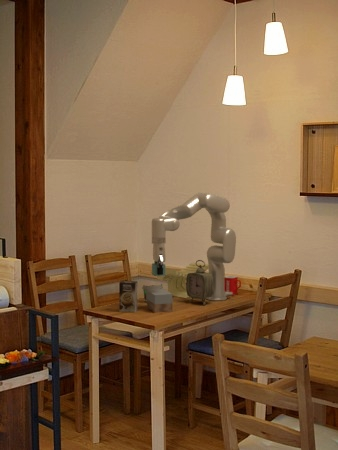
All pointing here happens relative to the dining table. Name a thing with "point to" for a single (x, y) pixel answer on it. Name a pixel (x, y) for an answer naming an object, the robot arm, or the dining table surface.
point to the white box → (159, 296)
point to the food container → (150, 289)
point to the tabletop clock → (200, 284)
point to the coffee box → (128, 296)
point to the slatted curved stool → (180, 279)
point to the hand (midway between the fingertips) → (158, 273)
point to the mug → (232, 284)
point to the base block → (159, 307)
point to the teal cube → (154, 269)
